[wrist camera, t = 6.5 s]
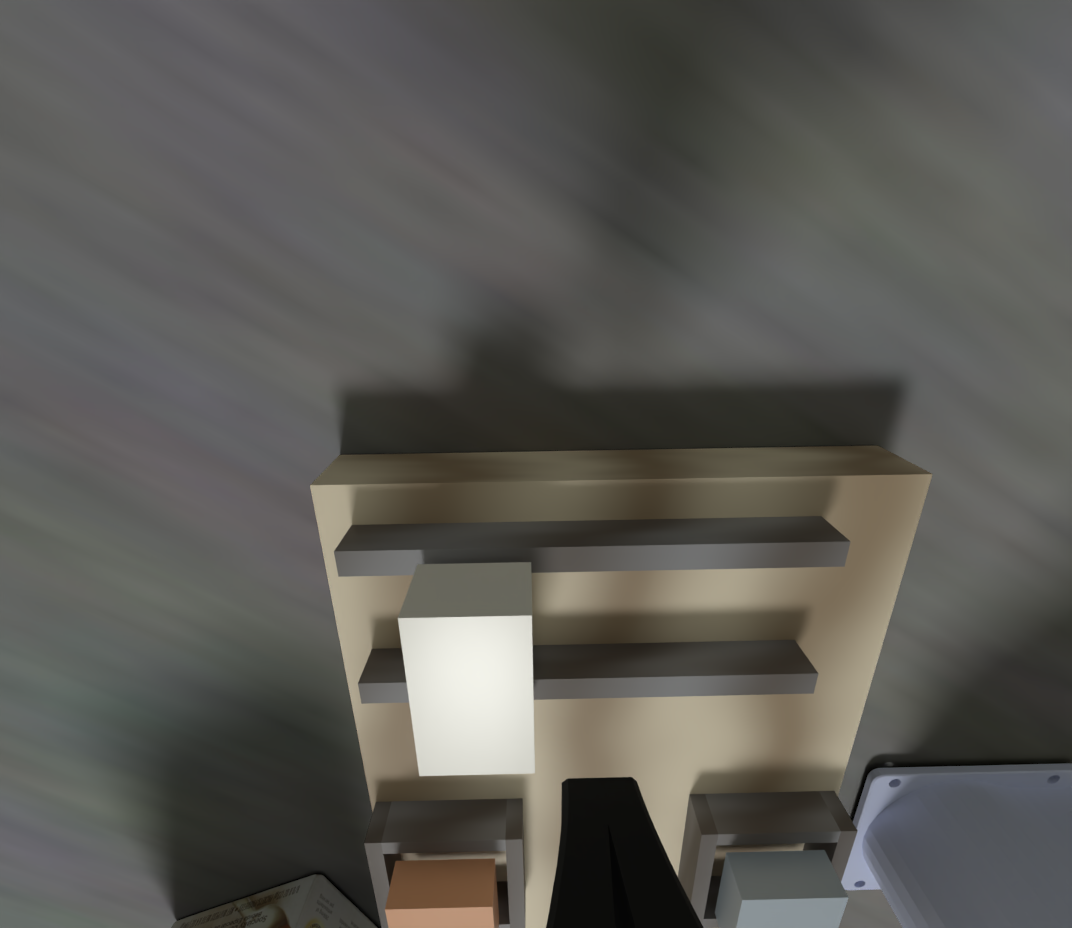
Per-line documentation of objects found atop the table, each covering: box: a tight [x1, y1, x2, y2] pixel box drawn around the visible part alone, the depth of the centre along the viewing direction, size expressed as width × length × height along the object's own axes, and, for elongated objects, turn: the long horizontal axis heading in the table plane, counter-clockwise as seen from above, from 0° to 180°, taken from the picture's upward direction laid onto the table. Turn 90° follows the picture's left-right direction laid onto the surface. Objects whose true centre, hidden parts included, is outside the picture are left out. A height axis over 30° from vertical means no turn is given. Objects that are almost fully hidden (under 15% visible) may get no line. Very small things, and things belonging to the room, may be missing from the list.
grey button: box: [715, 850, 849, 928], centre depth 19 cm, size 4×4×2 cm
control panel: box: [310, 445, 932, 928], centre depth 20 cm, size 18×24×4 cm
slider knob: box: [398, 562, 535, 776], centre depth 14 cm, size 3×5×4 cm, turn 1°
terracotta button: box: [385, 858, 499, 928], centre depth 18 cm, size 4×4×2 cm
